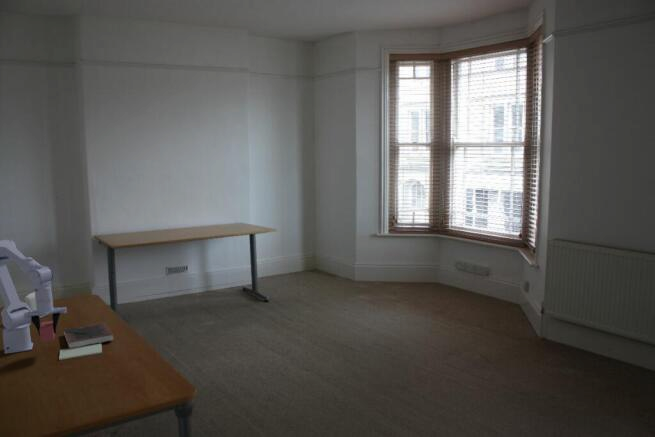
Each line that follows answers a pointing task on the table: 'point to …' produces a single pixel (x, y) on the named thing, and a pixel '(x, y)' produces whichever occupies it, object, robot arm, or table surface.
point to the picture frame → (88, 335)
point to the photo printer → (31, 302)
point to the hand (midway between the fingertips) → (47, 333)
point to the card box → (47, 331)
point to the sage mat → (80, 351)
